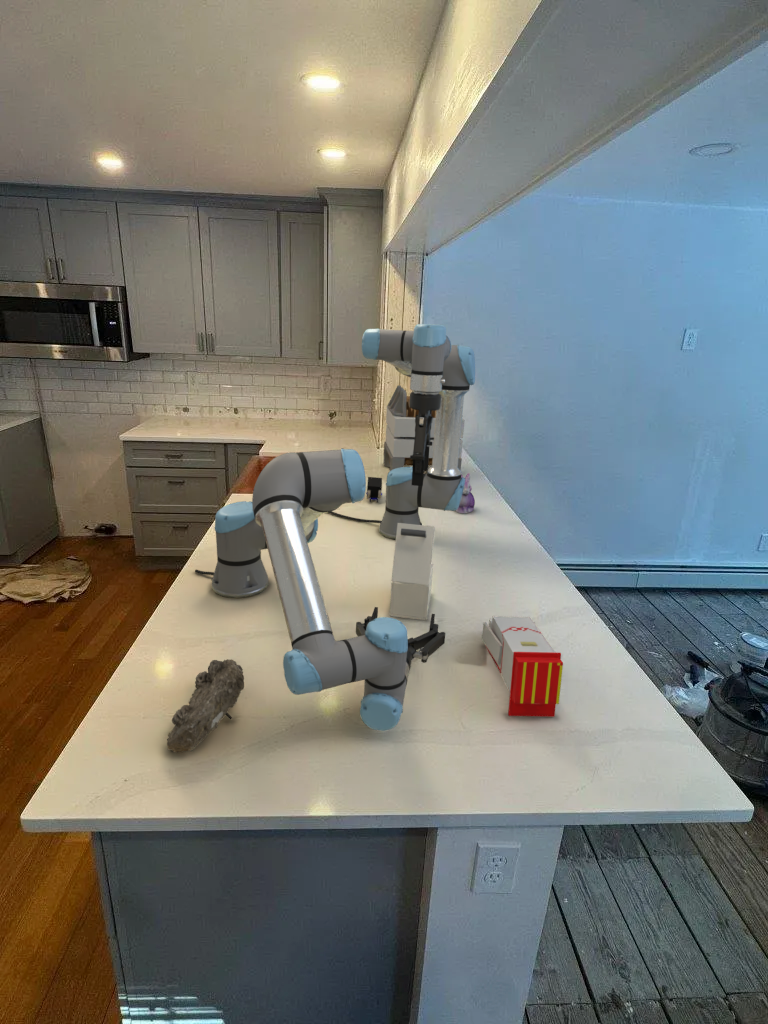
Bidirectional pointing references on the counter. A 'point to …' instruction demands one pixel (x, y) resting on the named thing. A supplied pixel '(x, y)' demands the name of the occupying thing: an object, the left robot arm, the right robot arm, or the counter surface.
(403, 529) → the lid
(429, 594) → the white cabinet body
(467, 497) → the figurine
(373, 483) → the figurine character
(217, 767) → the counter surface
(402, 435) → the transformer
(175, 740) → the fossil
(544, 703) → the toy
